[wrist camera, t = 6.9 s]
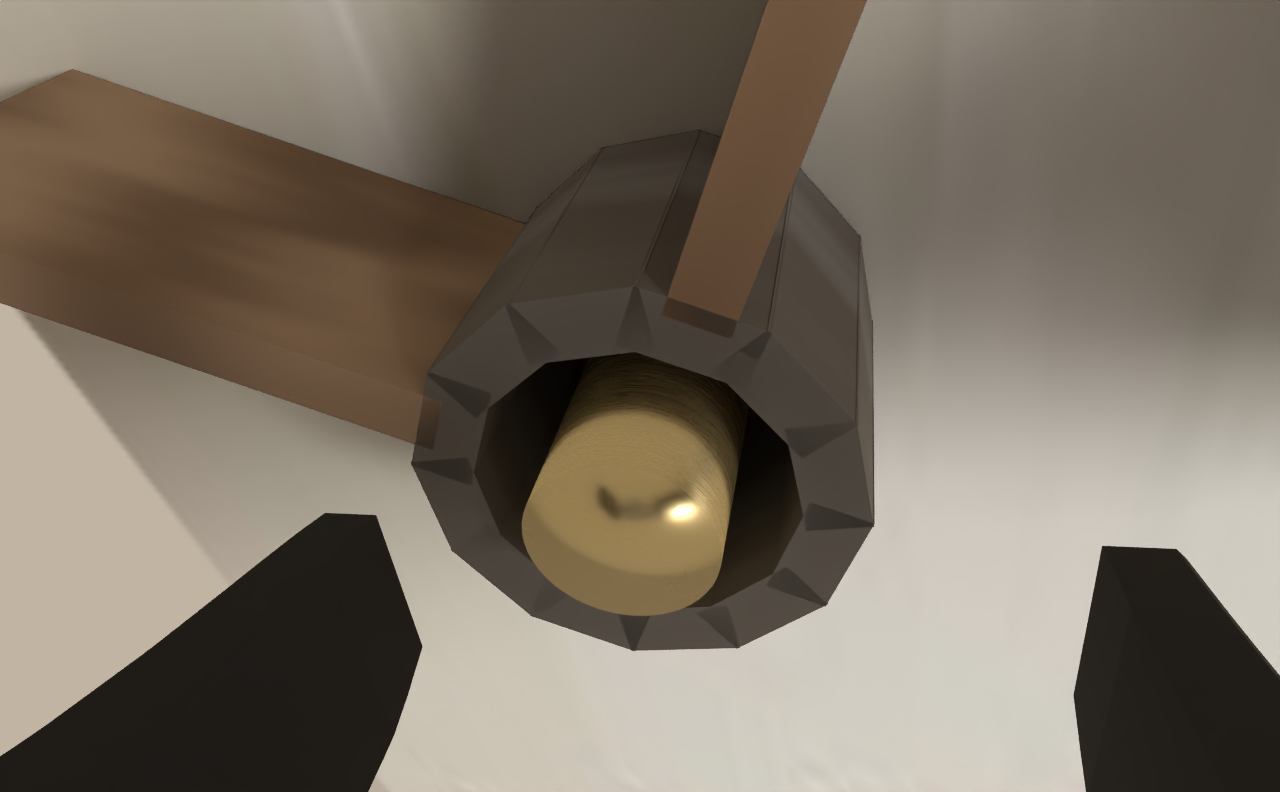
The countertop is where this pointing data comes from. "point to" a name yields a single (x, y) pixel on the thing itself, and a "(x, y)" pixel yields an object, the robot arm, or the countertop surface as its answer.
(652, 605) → the pin
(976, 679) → the countertop surface
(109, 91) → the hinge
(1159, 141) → the countertop surface
